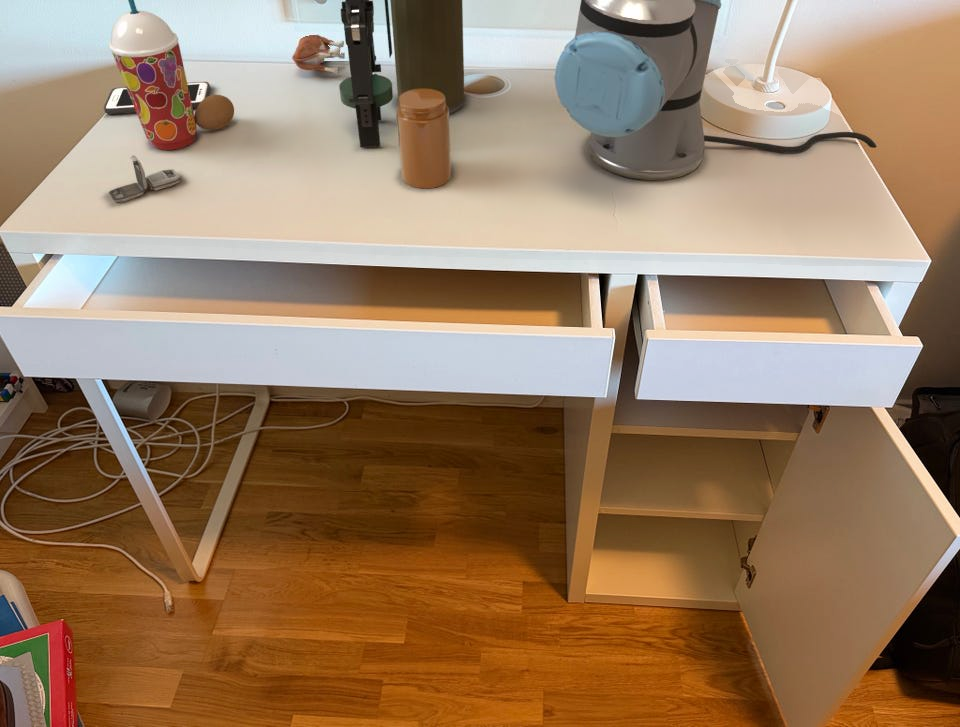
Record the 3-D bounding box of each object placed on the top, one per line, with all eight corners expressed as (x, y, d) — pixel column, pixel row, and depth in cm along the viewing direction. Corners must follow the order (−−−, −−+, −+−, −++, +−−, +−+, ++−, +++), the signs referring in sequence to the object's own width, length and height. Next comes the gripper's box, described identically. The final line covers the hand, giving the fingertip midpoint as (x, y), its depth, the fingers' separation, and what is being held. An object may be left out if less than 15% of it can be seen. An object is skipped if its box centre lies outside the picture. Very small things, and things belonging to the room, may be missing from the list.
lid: (363, 82, 106) (362, 69, 105) (403, 94, 104) (402, 81, 102) (330, 101, 102) (328, 88, 101) (370, 114, 99) (369, 100, 98)
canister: (469, 88, 117) (467, -54, 103) (461, 118, 110) (458, -30, 96) (400, 85, 118) (389, -56, 104) (388, 115, 111) (374, -32, 97)
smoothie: (174, 122, 109) (129, -27, 96) (217, 134, 107) (177, -17, 93) (129, 146, 104) (75, -7, 90) (174, 160, 101) (125, 4, 87)
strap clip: (174, 173, 99) (164, 143, 96) (182, 182, 97) (172, 152, 94) (109, 194, 95) (96, 164, 92) (116, 204, 93) (103, 173, 91)
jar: (456, 166, 100) (454, 89, 93) (443, 191, 95) (439, 112, 88) (411, 160, 101) (405, 84, 94) (395, 185, 97) (388, 106, 89)
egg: (219, 95, 109) (184, 116, 107) (222, 82, 105) (186, 104, 103) (239, 121, 110) (205, 142, 108) (243, 109, 106) (208, 131, 104)
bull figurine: (347, 24, 126) (298, 18, 125) (337, 55, 116) (283, 48, 115) (347, 50, 129) (299, 44, 128) (337, 83, 119) (285, 76, 118)
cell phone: (113, 93, 116) (111, 87, 116) (211, 87, 118) (209, 80, 117) (104, 115, 111) (101, 109, 110) (206, 108, 113) (205, 101, 112)
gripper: (325, -69, 97) (347, 102, 113) (312, -19, 83) (340, 169, 99) (383, -70, 98) (397, 100, 114) (380, -21, 83) (397, 166, 99)
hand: (371, 132), depth 106 cm, fingers closed on lid, 7 cm apart
